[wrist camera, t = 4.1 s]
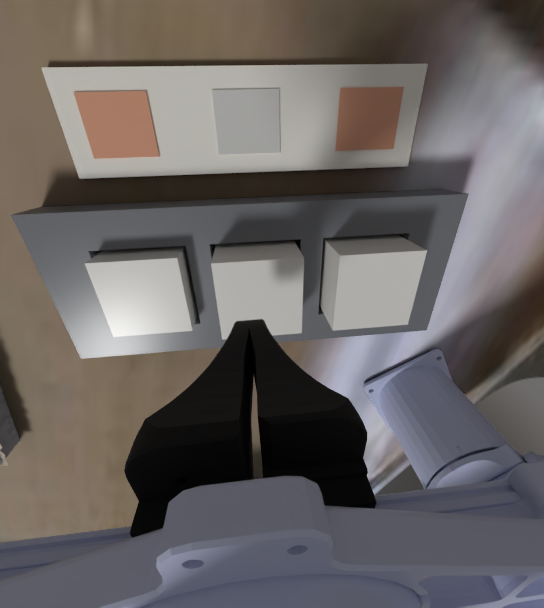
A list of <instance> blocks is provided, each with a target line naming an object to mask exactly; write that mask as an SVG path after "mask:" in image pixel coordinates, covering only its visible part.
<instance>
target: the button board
mask: <svg viewBox="0 0 544 608" xmlns="http://www.w3.org/2000/svg"><path fill="white" fill-rule="evenodd" d="M467 197H468V194H466V193H461V192H455V191H450V190H444V189H432V190H409V191H387V192H364V193H342V194H319V195H297V196H274V197H252V198H229V199H207V200H184V201H161V202H139V203H116V204H94V205H71V206H49V207H39V208H35V209H31V210H28V211H24V212H20V213H17V214H13V215H11V216H12V218H13V220H14V222H15V224H16V226H17V228H18V230H19V232H20V234H21V236H22V238H23V240H24V242H25V244H26V246H27V248H28V250H29V252H30V255H31V257H32V259H33V261H34V263H35V265H36V267H37V269H38V271H39V273H40V275H41V277H42V279H43V281H44V283H45V285H46V287H47V289H48V291H49V293H50V296H51V298H52V300H53V302H54V304H55V306H56V308H57V310H58V312H59V314H60V316H61V318H62V320H63V322H64V324H65V326H66V328H67V330H68V332H69V334H70V336H71V339H72V341H73V343H74V345H75V347H76V349H77V351H78V353H79V355H80V357H81V359H83V358H95V357H107V356H119V355H131V354H143V353H155V352H167V351H180V350H192V349H204V348H216V347H222V346H223V345H224V343H225V341H226V340H227V339H224V340H222V335H221V328H220V322H219V315H218V308H217V301H216V294H215V288H214V281H213V274H212V267H211V261H212V258H213V254H214V251H215V244H225V243H242V242H260V241H278V240H294V242H295V243H296V245H297V247H298V248H299V250H300V252H301V253H302V255H303V257H304V279H303V310H302V333H298V334H286V335H274V336H273V338H274V339H275V340H276V342H288V341H300V340H312V339H324V338H337V337H349V336H361V335H373V334H385V333H397V332H409V331H421V330H427V327H428V324H429V321H430V317H431V314H432V311H433V308H434V304H435V301H436V298H437V295H438V291H439V288H440V285H441V282H442V278H443V275H444V272H445V269H446V265H447V262H448V259H449V256H450V252H451V249H452V246H453V243H454V239H455V236H456V233H457V230H458V226H459V223H460V220H461V217H462V213H463V210H464V207H465V204H466V200H467ZM385 234H397V235H399V236H401V237H403V238H405V239H407V240H409V241H411V242H412V243H414V244H416V245H418V246H420V247H422V248H424V249H426V250H427V254H426V257H425V261H424V265H423V269H422V273H421V276H420V280H419V284H418V288H417V292H416V295H415V299H414V303H413V307H412V311H411V314H410V318H409V322H408V325H397V326H385V327H373V328H360V329H348V330H336V331H333V330H332V328H331V326H330V325H329V323H328V321H327V319H326V317H325V315H324V313H323V311H322V309H321V307H320V305H319V295H320V280H321V264H322V249H323V238H332V237H350V236H368V235H385ZM171 246H186V250H187V255H188V260H189V266H190V271H191V276H192V281H193V287H194V292H195V297H196V302H197V308H198V313H197V317H196V320H195V324H194V328H193V331H185V332H172V333H159V334H147V335H134V336H121V337H113V335H112V332H111V330H110V327H109V325H108V322H107V320H106V317H105V314H104V312H103V309H102V307H101V304H100V302H99V299H98V297H97V294H96V292H95V289H94V286H93V284H92V281H91V279H90V276H89V274H88V271H87V269H86V266H85V263H86V262H87V261H89V260H90V259H92V258H93V257H94V256H96V255H97V254H99V253H100V252H101V251H103V250H117V249H135V248H153V247H171Z"/></svg>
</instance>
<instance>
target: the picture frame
mask: <svg viewBox="0 0 544 608" xmlns="http://www.w3.org/2000/svg"><path fill="white" fill-rule="evenodd" d="M19 441H20V440H19V435H18V433H17V429H16V428H15V425H14V422H13V419H12V417H11V415H10V411H9V408H8V406H7V403H6V400H5V398H4V395H3V391H2V389H1V385H0V465H8V463H7V462H6V461H5V458H6V457H7V456H8V455H9V454H10V452H11V451H12V450H13V448H14V447H15V446H16V444H17V443H18V442H19Z"/></svg>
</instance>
